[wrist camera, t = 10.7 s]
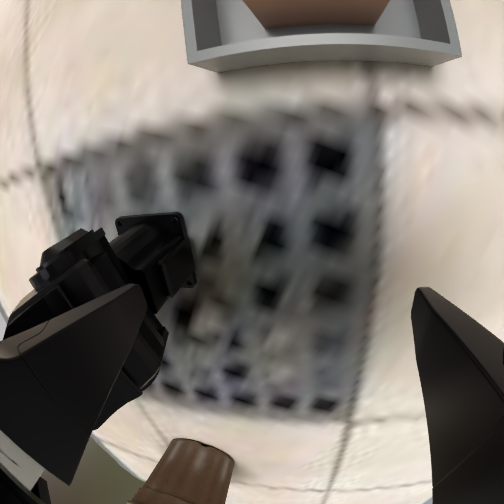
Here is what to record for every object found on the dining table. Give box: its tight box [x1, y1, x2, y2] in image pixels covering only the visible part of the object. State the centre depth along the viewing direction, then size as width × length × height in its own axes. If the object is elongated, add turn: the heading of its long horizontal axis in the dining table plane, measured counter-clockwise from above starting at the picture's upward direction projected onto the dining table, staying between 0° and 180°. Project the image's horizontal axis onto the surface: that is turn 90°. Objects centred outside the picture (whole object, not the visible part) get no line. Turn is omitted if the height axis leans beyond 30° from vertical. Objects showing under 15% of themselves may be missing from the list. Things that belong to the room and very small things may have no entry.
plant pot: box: [127, 439, 234, 504], centre depth 36 cm, size 16×16×16 cm
